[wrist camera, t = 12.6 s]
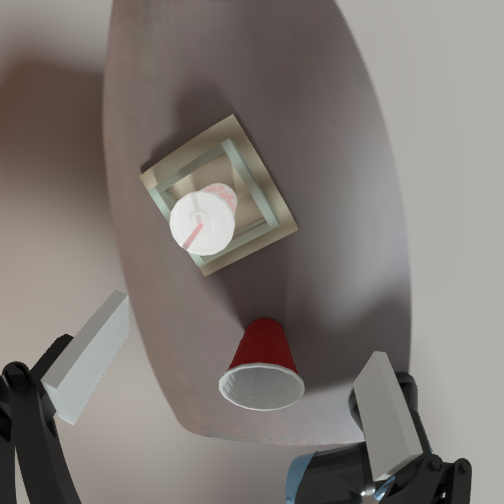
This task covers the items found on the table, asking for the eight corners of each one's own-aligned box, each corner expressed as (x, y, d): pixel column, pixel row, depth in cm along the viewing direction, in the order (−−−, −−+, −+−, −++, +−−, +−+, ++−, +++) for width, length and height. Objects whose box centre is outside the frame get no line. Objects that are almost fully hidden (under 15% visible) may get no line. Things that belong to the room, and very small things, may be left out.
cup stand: (298, 227, 35) (301, 238, 31) (206, 273, 38) (200, 288, 35) (233, 114, 30) (228, 111, 26) (142, 175, 33) (128, 180, 29)
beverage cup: (232, 169, 31) (206, 193, 19) (251, 216, 34) (238, 270, 21) (186, 187, 33) (135, 223, 20) (205, 232, 35) (169, 290, 22)
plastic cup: (221, 346, 44) (209, 404, 33) (241, 295, 39) (231, 354, 28) (283, 363, 45) (284, 420, 34) (310, 316, 40) (321, 376, 29)
